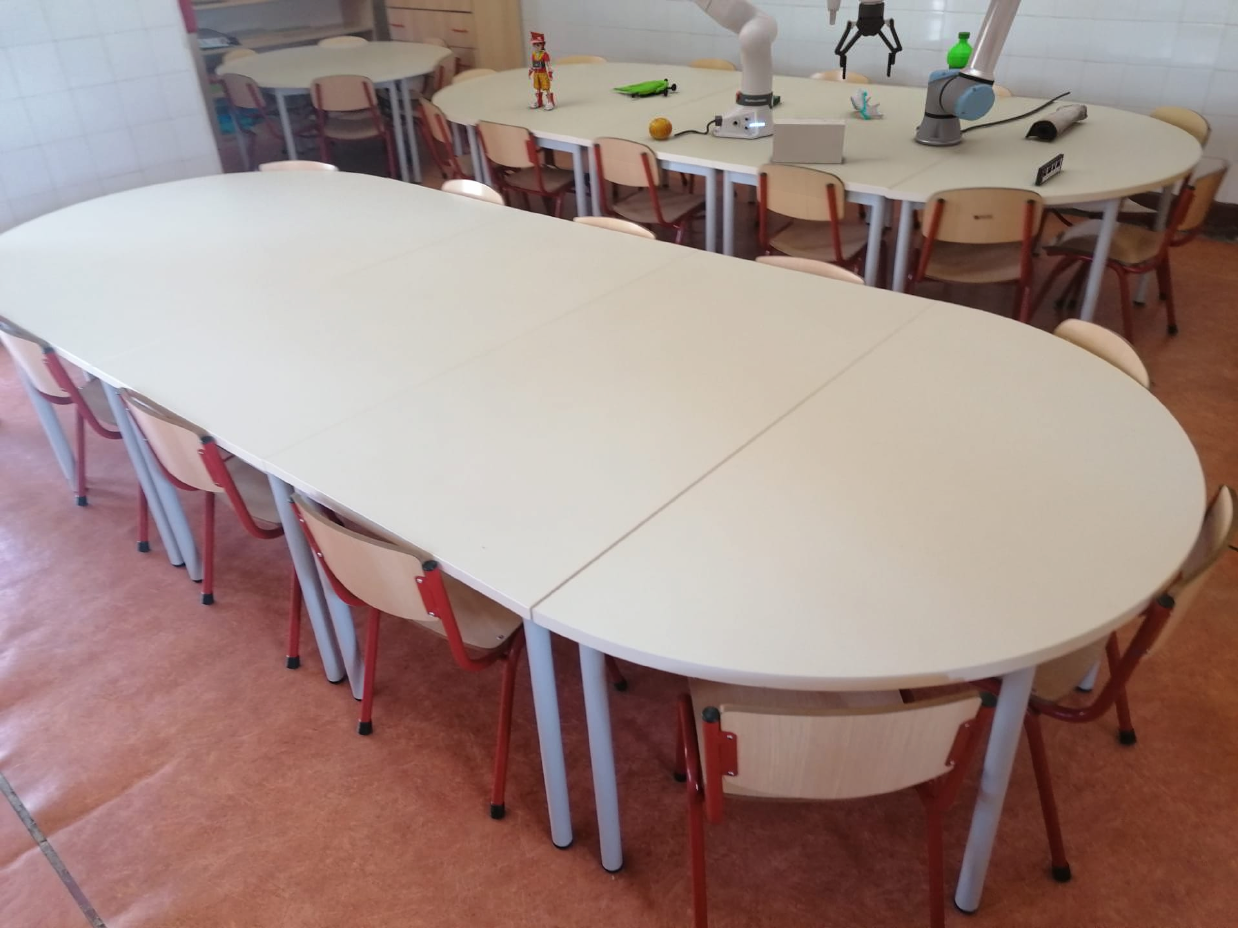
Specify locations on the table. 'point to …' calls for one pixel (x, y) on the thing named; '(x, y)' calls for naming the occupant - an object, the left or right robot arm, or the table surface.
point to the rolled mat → (1057, 122)
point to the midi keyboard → (1049, 169)
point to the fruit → (660, 128)
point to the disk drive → (776, 100)
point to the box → (808, 140)
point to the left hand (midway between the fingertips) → (832, 22)
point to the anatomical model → (865, 105)
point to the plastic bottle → (960, 52)
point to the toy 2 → (648, 88)
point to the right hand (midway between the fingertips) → (866, 77)
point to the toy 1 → (541, 71)
